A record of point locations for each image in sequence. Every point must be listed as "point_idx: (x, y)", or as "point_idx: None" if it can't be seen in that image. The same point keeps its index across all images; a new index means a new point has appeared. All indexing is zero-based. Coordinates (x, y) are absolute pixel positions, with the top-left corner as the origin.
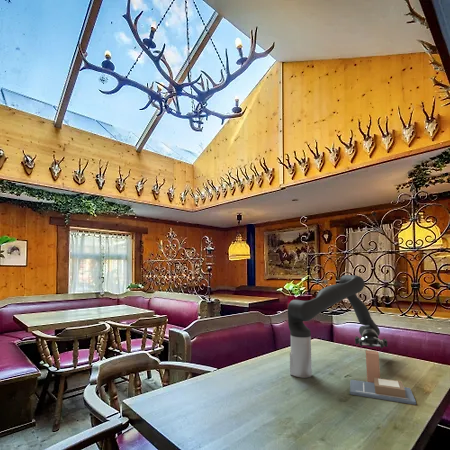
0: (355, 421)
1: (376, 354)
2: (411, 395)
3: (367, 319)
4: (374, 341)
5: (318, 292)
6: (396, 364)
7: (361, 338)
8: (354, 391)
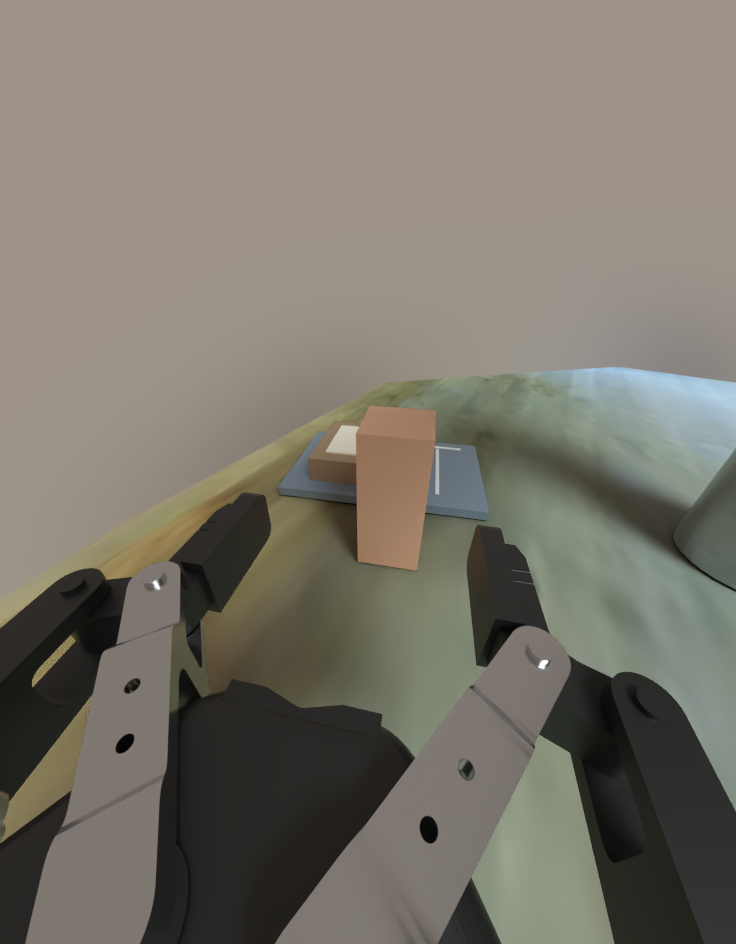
0: (451, 399)
1: (380, 407)
2: (309, 451)
3: None
4: (236, 692)
5: None
6: None
7: (533, 742)
8: (462, 446)
